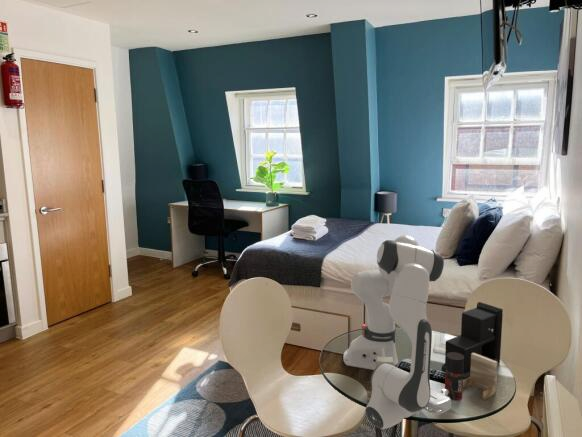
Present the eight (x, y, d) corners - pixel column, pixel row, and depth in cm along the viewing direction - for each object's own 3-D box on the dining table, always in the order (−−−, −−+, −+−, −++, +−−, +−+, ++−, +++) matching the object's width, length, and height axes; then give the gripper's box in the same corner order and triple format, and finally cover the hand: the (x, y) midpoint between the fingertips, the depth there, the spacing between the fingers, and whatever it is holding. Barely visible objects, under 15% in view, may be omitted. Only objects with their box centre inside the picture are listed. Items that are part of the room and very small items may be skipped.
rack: (484, 400, 154) (486, 368, 152) (460, 389, 161) (462, 358, 159) (495, 393, 158) (497, 361, 156) (471, 382, 165) (473, 352, 163)
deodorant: (449, 389, 161) (451, 350, 159) (465, 395, 157) (467, 356, 154) (441, 395, 157) (443, 356, 155) (457, 402, 153) (459, 361, 150)
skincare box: (393, 387, 163) (393, 356, 161) (393, 394, 159) (394, 362, 157) (375, 386, 164) (376, 355, 162) (375, 392, 160) (376, 360, 158)
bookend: (464, 381, 167) (467, 322, 163) (440, 369, 176) (442, 313, 172) (500, 364, 179) (504, 308, 175) (476, 354, 188) (479, 301, 184)
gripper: (436, 405, 132) (462, 389, 140) (383, 377, 148) (410, 365, 156) (435, 424, 133) (461, 408, 141) (383, 395, 149) (409, 381, 157)
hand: (434, 385), depth 149 cm, fingers open, 8 cm apart
